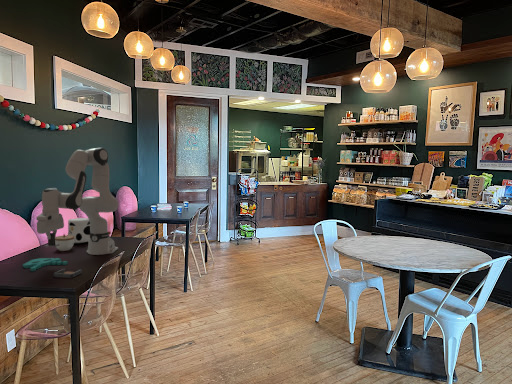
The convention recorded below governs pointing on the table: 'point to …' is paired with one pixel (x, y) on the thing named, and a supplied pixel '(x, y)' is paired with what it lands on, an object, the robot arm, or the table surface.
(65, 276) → the bay
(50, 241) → the stepped dark grey block
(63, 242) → the lidded bowl
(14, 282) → the table surface
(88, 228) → the milk container
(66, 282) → the table surface
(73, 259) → the table surface
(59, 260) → the teal pixel invader
